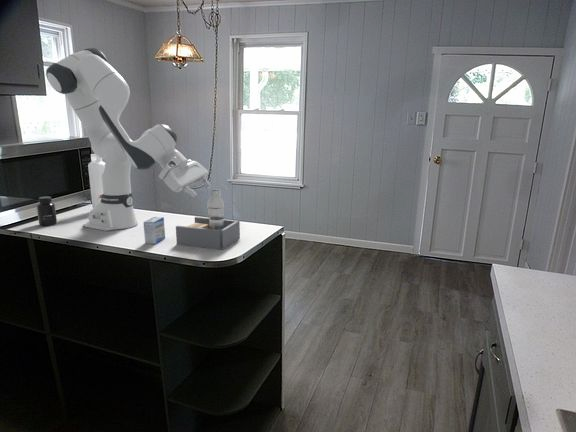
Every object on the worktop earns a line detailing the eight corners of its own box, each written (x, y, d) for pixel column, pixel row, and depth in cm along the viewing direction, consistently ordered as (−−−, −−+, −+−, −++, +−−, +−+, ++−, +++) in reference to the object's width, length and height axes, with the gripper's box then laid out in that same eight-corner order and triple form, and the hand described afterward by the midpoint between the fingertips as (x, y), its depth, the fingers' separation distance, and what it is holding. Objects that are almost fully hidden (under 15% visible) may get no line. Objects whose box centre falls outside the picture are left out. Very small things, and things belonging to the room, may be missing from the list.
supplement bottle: (47, 227, 173) (43, 199, 170) (35, 225, 175) (31, 198, 172) (61, 223, 179) (57, 196, 176) (49, 221, 181) (45, 195, 178)
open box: (176, 244, 153) (175, 226, 151) (196, 233, 167) (196, 216, 165) (223, 249, 148) (222, 231, 146) (239, 237, 162) (239, 220, 160)
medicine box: (155, 244, 153) (154, 222, 150) (144, 243, 153) (143, 221, 151) (165, 238, 160) (164, 216, 158) (155, 237, 161) (153, 216, 159)
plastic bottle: (222, 245, 153) (221, 192, 148) (205, 243, 154) (203, 191, 149) (228, 240, 159) (227, 189, 154) (212, 238, 160) (210, 188, 155)
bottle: (114, 210, 203) (109, 153, 196) (103, 213, 196) (97, 155, 189) (100, 209, 206) (95, 153, 199) (89, 212, 198) (82, 154, 191)
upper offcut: (181, 235, 155) (181, 228, 154) (196, 229, 163) (195, 222, 162) (194, 237, 153) (194, 230, 152) (208, 231, 161) (208, 224, 160)
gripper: (188, 164, 163) (212, 188, 163) (155, 178, 146) (182, 205, 146) (195, 153, 160) (220, 178, 160) (163, 166, 143) (191, 194, 142)
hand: (202, 191), depth 153 cm, fingers open, 8 cm apart
